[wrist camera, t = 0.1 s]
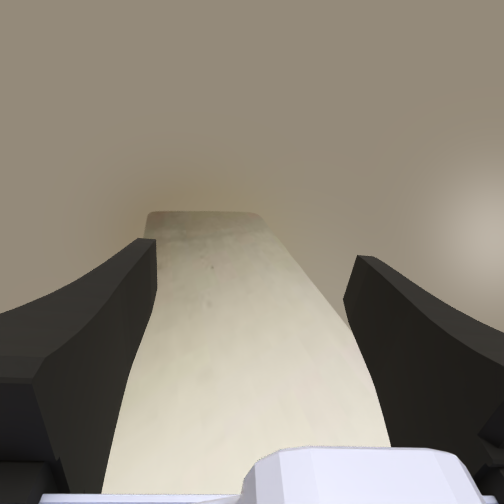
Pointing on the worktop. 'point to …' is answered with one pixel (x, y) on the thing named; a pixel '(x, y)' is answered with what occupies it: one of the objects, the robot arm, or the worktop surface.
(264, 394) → the worktop surface
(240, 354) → the worktop surface
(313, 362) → the worktop surface
